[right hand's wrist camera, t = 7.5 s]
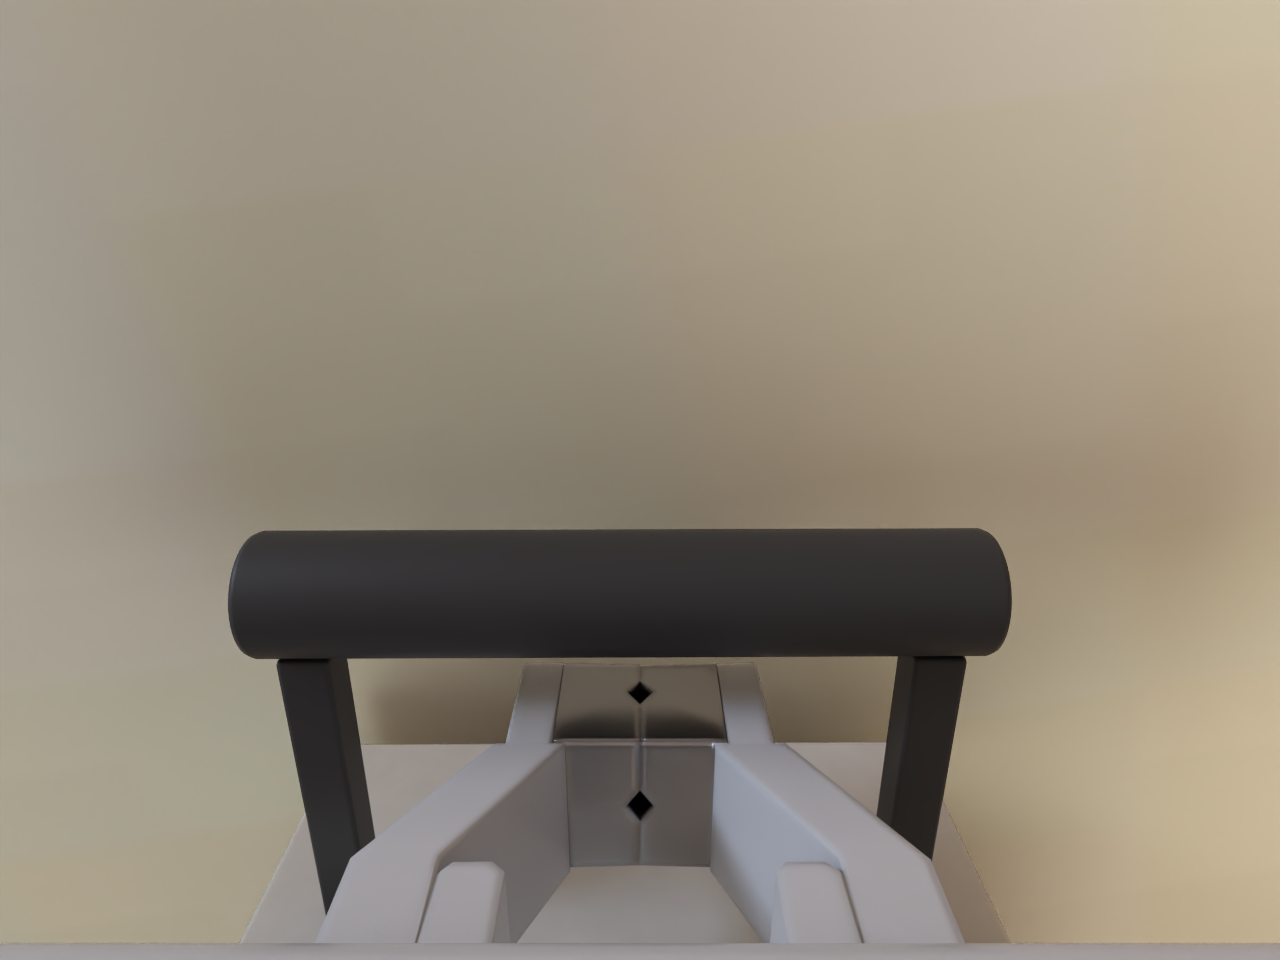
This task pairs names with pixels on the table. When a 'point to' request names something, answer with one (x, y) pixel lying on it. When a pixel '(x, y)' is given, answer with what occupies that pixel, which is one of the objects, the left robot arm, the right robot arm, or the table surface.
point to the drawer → (613, 627)
